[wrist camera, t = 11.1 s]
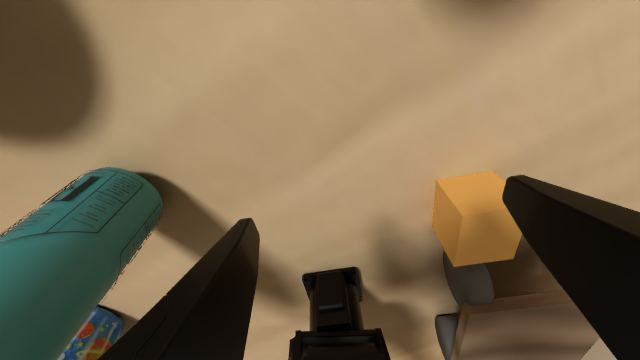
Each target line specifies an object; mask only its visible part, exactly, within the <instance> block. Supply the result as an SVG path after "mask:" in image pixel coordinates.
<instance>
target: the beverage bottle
mask: <svg viewBox="0 0 640 360" xmlns="http://www.w3.org/2000/svg"><path fill="white" fill-rule="evenodd" d="M91 171H92V172H89V173H86V172H85V173H86V174H84V173H83V174H84V176H83V175H82V176H83V177H82V178H80V179H79V178H77V179H79V180H78V181H75V180H74V181H75V183H74V184H72V182H74V181H72V182H71V183H69V184H72V185H70V186H69V187H68V188H67V189H66V188H65V187H67V186H68V185H69V184H68V185H67V186H65V187H64V188H65V189H64V188H63V189H64V191H63V189H61V190H62V191H63V192H62V191H61V190H60V191H61V192H60V191H59V192H60V193H59V192H57V193H59V194H58V195H56V194H57V193H56V194H55V195H56V196H55V197H54V198H53V199H52V200H50V201H49V202H48V203H47V204H45V205H44V206H43V207H41V208H38V209H39V210H37V209H35V210H37V211H34V210H33V211H34V213H33V214H31V215H28V214H27V215H28V216H29V217H28V218H25V220H24V219H23V218H24V217H23V218H22V219H23V220H24V221H22V222H20V224H17V226H15V225H16V224H15V223H14V226H15V227H14V226H13V228H11V229H12V230H10V231H6V230H5V231H6V232H8V233H6V234H5V235H3V234H2V235H1V236H0V237H1V238H0V360H58V358H59V357H60V355H61V354H62V353H63V351H64V350H65V349H66V347H67V346H68V344H69V343H70V342H71V340H72V339H73V337H74V336H75V335H76V333H77V332H78V331H79V329H80V328H81V326H82V325H83V324H84V322H85V321H86V320H87V318H88V317H89V315H90V314H91V313H92V311H93V310H94V308H95V307H96V306H97V304H98V303H99V302H100V301H101V300H102V299H103V297H104V296H105V295H106V293H107V292H108V290H109V289H111V288H112V287H111V286H112V285H113V283H114V282H115V281H117V279H118V276H119V275H120V273H121V272H122V271H123V269H124V268H125V266H126V265H127V264H128V263H130V262H131V261H130V260H131V258H132V257H133V255H134V254H135V253H136V251H137V250H138V248H139V247H140V246H141V244H142V243H143V241H144V240H145V238H146V237H147V235H148V234H149V233H150V231H151V230H152V229H153V227H154V226H155V224H156V223H157V221H158V220H159V219H160V216H161V213H162V208H163V203H162V199H161V197H160V194H159V193H158V191H157V190H156V189H155V187H154V186H153V185H152V184H151V183H149V182H148V181H147V180H145V179H144V178H142V177H141V176H139V175H137V174H135V173H133V172H130V171H127V170H124V169H120V168H111V167H107V168H100V169H97V170H94V171H93V170H91ZM79 177H80V176H79ZM77 179H76V180H77ZM53 196H54V195H53ZM53 196H52V197H53ZM52 197H50V198H52ZM50 198H49V199H50ZM49 199H48V200H49ZM48 200H46V201H48ZM46 201H45V202H46ZM45 202H44V203H45ZM44 203H42V204H44ZM39 206H40V205H39ZM29 213H30V212H29ZM25 217H27V216H25ZM161 217H162V216H161ZM19 221H21V219H20V220H19ZM17 222H18V221H17ZM17 222H16V223H17ZM157 225H158V224H157ZM157 225H156V226H157ZM156 226H155V227H156ZM10 227H11V226H10ZM8 229H10V228H7V230H8ZM154 229H155V228H154ZM154 229H153V230H154ZM153 230H152V231H153ZM3 233H5V232H4V231H3ZM150 235H151V234H150ZM148 238H149V235H148ZM148 238H146V239H148ZM143 244H144V243H143ZM141 247H142V246H141ZM141 247H140V248H139V249H141ZM136 255H137V254H136ZM134 258H135V257H134ZM134 258H133V259H134ZM129 261H130V262H129ZM126 269H127V268H126ZM121 274H122V273H121ZM119 279H120V278H119ZM117 282H118V281H117ZM115 284H116V283H115ZM114 286H115V285H114ZM106 298H107V297H106ZM106 298H105V299H106ZM98 306H99V305H98ZM98 306H97V307H98ZM97 307H96V308H97ZM96 308H95V309H96Z"/></svg>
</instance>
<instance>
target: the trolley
mask: <svg viewBox="0 0 640 360" xmlns="http://www.w3.org/2000/svg"><path fill="white" fill-rule="evenodd" d="M443 266H444V271H445V275H446V279H447V282H448V285H449V288H450V290H451V292H452V294H453V296H454V298H455V300H456V301H457V303H458V304H459V306H460V307H461V308H462V310H461V314H460V318H459V322H458V320H457V319H456V318H455V317H454V316H453V315H447V316H439V317H436V318H435V328H436V333H437V337H438V341H439V344H440V347H441V350H442V353H443V355H444V358H445V360H581V359H582V357H583V356H584V355H585V354H586V353H587V352H588V350H589V349H590V348H591V347H592V346H593V345H594V343H595V342H596V341H597V340H598V339H599V338H600V336H599V335H598V334H597V333H596V331H595V330H594V329H593V327H592V326H591V325H590V323H589V322H588V321H587V319H586V318H585V317H584V315H583V314H582V313H581V312H580V310H579V309H578V308H577V306H576V305H575V304H574V302H573V301H572V300H571V298H570V297H569V296H568V294H567V293H566V292H565V291H564V290H559V291H551V292H543V293H535V294H527V295H519V296H511V297H503V298H495V299H494V290H493V284H492V280H491V277H490V274H489V271H488V269H487V267H486V265H485V263H479V264H472V265H464V266H457V267H454V266H453V265H452V263H451V261H450V259H449V257H448V256H447V254H446V252H445V250H444V253H443Z"/></svg>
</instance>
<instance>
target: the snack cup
mask: <svg viewBox="0 0 640 360" xmlns="http://www.w3.org/2000/svg"><path fill="white" fill-rule="evenodd" d="M96 307H97V306H96ZM96 307H95V308H96ZM95 308H94V310H93V311H92V313H91V314H90V315H89V317H88V318H87V320H86V321H85V322H84V324H83V325H82V326H81V328H80V329H79V331H78V332H77V333H76V335H75V336H74V337H73V339H72V340H71V342H70V343H69V344H68V346H67V347H66V349H65V350H64V351H63V353H62V354H61V355H60V357H59V358H58V360H96V359H98V358H99V357H100V356H101V355H102V354H103V353H104V352H105V351H106V350H108V349H109V348H110V347H111V346H112V345H113V344H114V343H115V342H117V341H118V340H119V338H120V335H121V333H122V330H123V324H122V322H123V320H122V319H121V318H119V317H117V316H116V315H115V314H113V313H112V312H110V311H107V310H105V309H102V308H99V307H97V308H96V309H95Z"/></svg>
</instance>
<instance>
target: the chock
mask: <svg viewBox="0 0 640 360" xmlns="http://www.w3.org/2000/svg"><path fill="white" fill-rule="evenodd" d="M505 183H506V182H505V181H504V180H503V179H502V178H501V177H499V176H498V175H497V174H496V173H495V172H494V171H489V172H483V173H476V174H470V175H464V176H457V177H451V178H445V179H438V180H436V185H435V197H434V208H433V220H432V229H433V230H434V232H435V234H436V236H437V238H438V239H439V241H440V243H441V245H442V247H443V248H444V250H445V252H446V254H447V256H448V257H449V259H450V261H451V263H452V265H453V266H454V267H457V266H464V265H472V264H479V263H487V262H494V261H502V260H509V259H513V258H514V255H515V253H516V250H517V247H518V244H519V242H520V239H521V236H522V233H521V231H520V229H519V228H518V226H517V224H516V223H515V221H514V219H513V218H512V216H511V214H510V213H509V211H508V209H507V208H506V206H505V204H504V203H503V200H502V194H503V191H504V187H505Z"/></svg>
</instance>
